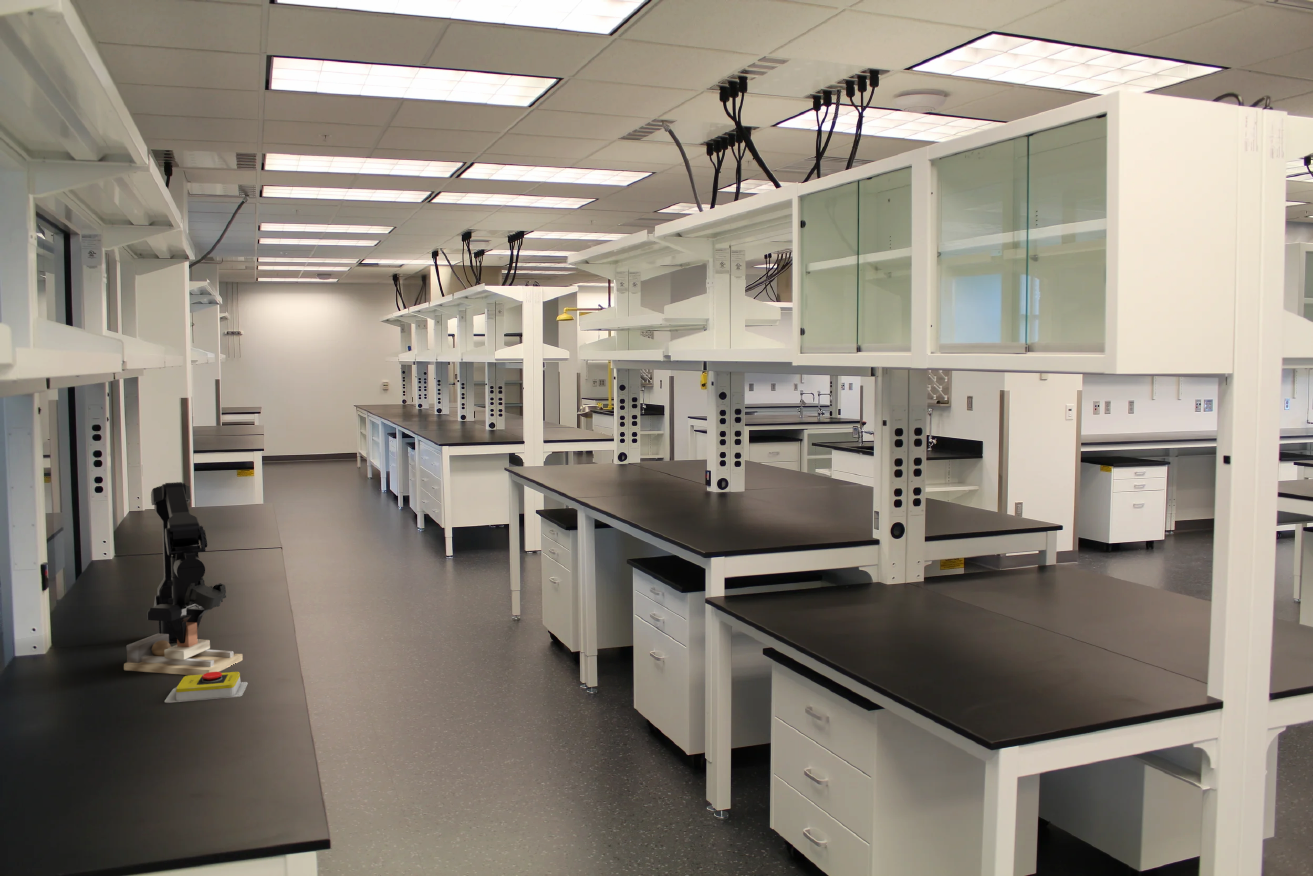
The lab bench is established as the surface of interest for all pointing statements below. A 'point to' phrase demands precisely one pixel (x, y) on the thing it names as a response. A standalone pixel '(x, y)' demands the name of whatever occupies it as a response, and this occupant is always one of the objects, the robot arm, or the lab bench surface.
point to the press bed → (194, 665)
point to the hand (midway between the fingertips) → (187, 641)
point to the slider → (188, 644)
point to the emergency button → (208, 687)
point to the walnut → (160, 648)
